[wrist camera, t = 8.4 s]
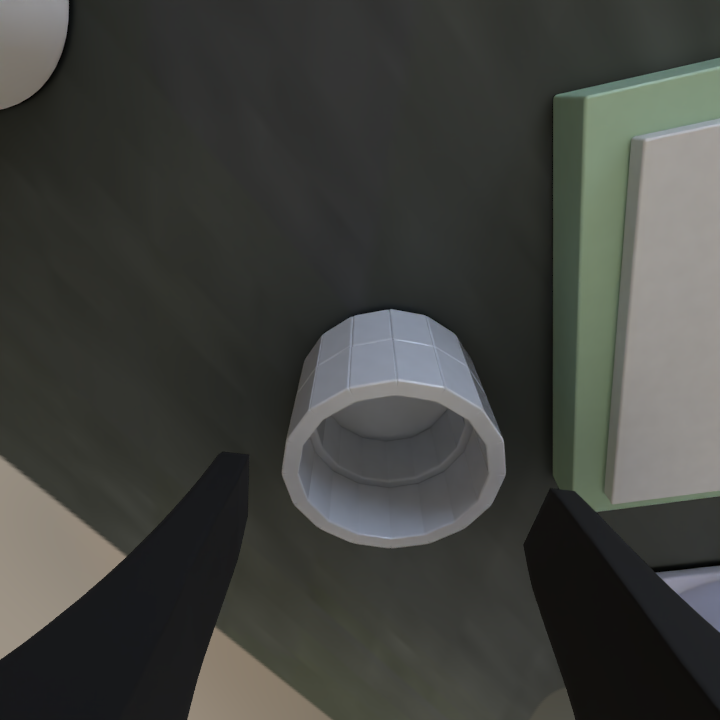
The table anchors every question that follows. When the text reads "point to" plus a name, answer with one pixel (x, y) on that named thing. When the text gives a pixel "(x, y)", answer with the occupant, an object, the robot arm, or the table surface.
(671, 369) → the scale
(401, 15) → the table surface
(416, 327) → the grey cup
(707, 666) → the robot arm
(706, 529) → the table surface
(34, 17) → the cosmetic bottle
